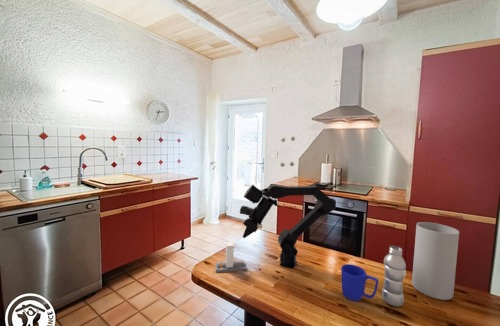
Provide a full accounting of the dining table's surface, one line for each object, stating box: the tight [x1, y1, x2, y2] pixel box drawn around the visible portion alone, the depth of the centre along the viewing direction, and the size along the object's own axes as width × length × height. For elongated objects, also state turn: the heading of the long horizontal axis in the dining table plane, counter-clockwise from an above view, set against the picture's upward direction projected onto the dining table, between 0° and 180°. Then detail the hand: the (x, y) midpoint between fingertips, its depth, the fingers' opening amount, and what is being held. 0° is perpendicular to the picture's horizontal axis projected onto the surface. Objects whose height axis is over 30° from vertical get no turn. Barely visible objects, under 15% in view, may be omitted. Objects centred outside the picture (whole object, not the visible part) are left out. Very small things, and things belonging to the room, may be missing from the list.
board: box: [215, 262, 247, 273], centre depth 99 cm, size 13×6×1 cm, turn 99°
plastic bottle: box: [381, 245, 407, 307], centre depth 79 cm, size 6×7×20 cm
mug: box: [340, 263, 379, 302], centre depth 81 cm, size 8×12×10 cm
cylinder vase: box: [411, 221, 460, 301], centre depth 86 cm, size 12×12×25 cm
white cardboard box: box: [225, 241, 235, 268], centre depth 99 cm, size 3×5×10 cm, turn 9°
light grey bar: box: [216, 260, 245, 267], centre depth 99 cm, size 12×2×2 cm, turn 99°
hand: (243, 237), depth 102 cm, fingers closed
